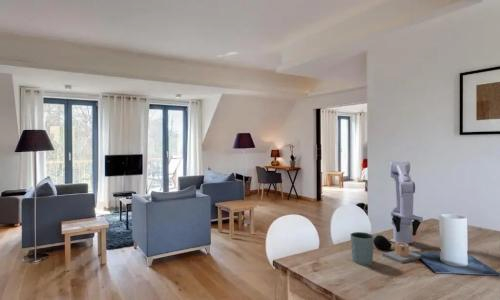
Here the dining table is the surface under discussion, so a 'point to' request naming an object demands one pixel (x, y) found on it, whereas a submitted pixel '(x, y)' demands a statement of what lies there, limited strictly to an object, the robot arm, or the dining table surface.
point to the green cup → (362, 248)
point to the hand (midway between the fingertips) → (406, 233)
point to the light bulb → (383, 243)
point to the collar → (402, 249)
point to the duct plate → (401, 259)
